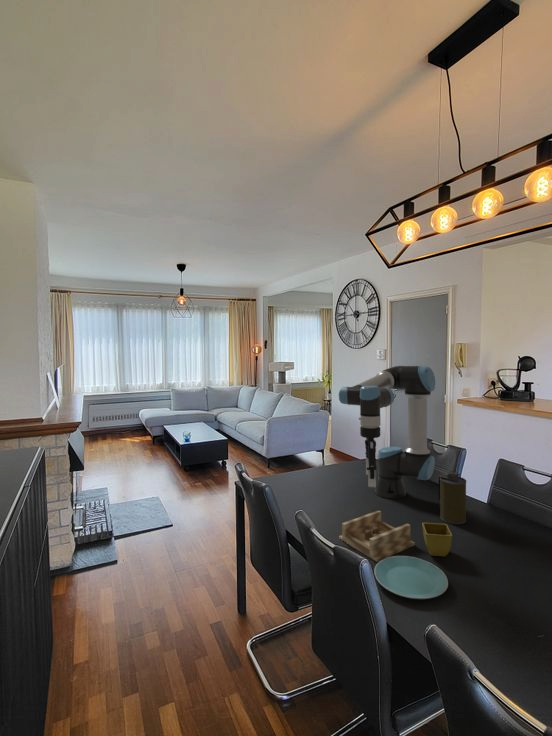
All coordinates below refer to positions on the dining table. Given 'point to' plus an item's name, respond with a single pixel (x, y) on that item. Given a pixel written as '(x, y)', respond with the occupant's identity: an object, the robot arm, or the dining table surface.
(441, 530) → the flower pot
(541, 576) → the dining table surface
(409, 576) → the plate
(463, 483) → the canister
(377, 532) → the peg frame
